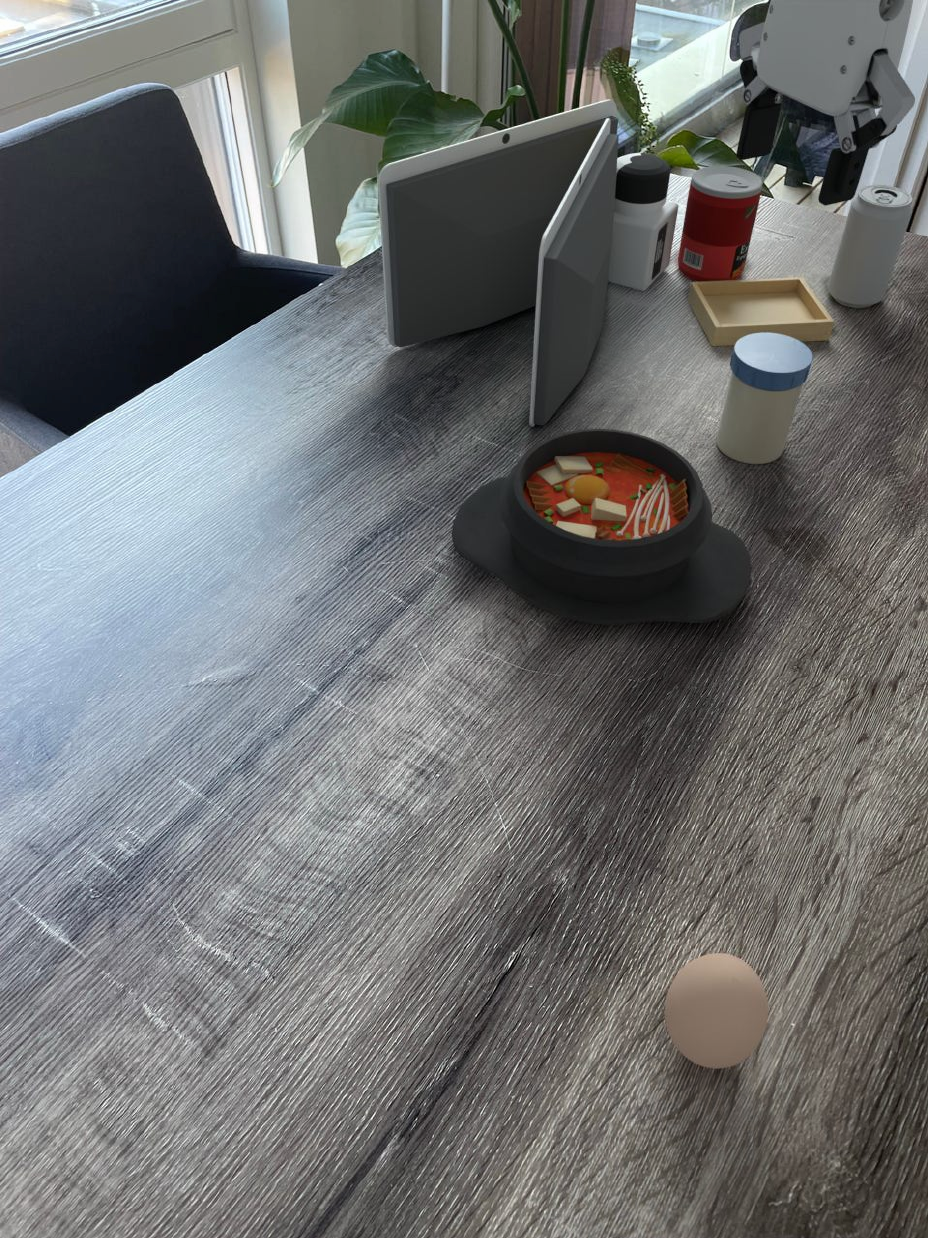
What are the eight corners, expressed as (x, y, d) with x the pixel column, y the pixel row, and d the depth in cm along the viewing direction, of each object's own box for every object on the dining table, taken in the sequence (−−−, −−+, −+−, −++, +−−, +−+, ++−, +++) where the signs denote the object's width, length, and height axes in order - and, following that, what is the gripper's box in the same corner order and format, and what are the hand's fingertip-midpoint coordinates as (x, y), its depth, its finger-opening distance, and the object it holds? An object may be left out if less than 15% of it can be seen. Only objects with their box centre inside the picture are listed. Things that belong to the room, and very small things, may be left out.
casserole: (764, 531, 87) (787, 452, 81) (721, 681, 75) (745, 601, 69) (496, 465, 93) (499, 387, 87) (417, 593, 81) (414, 514, 75)
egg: (743, 997, 58) (776, 930, 52) (756, 1091, 54) (793, 1031, 49) (652, 991, 58) (674, 923, 52) (659, 1085, 55) (683, 1023, 49)
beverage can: (886, 290, 118) (920, 188, 109) (877, 315, 114) (912, 211, 105) (831, 279, 119) (860, 178, 111) (820, 303, 115) (850, 199, 107)
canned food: (744, 288, 118) (765, 194, 110) (675, 282, 119) (691, 189, 111) (741, 258, 123) (761, 167, 115) (676, 253, 124) (691, 162, 116)
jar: (771, 423, 99) (794, 336, 92) (792, 462, 94) (819, 374, 87) (708, 426, 98) (727, 340, 91) (726, 466, 94) (748, 378, 87)
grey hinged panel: (567, 438, 97) (586, 242, 83) (354, 403, 100) (339, 211, 86) (621, 273, 120) (644, 99, 106) (448, 250, 124) (447, 79, 110)
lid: (792, 347, 93) (797, 330, 92) (819, 388, 88) (824, 370, 87) (720, 351, 92) (724, 333, 91) (743, 392, 88) (747, 374, 86)
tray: (797, 295, 117) (802, 276, 115) (828, 340, 110) (834, 321, 108) (687, 300, 116) (690, 281, 114) (711, 346, 109) (715, 327, 107)
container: (669, 265, 121) (687, 155, 112) (644, 292, 116) (661, 179, 107) (611, 250, 124) (624, 141, 114) (584, 276, 119) (595, 164, 110)
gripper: (1001, -59, 63) (907, 211, 75) (813, -110, 74) (758, 134, 86) (914, -49, 60) (832, 229, 72) (732, -103, 71) (687, 147, 83)
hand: (792, 177), depth 79 cm, fingers open, 9 cm apart
